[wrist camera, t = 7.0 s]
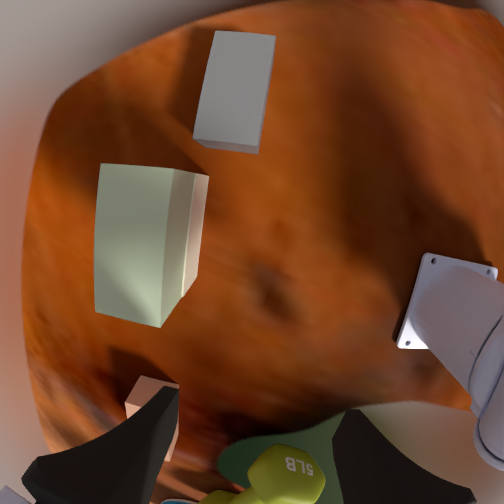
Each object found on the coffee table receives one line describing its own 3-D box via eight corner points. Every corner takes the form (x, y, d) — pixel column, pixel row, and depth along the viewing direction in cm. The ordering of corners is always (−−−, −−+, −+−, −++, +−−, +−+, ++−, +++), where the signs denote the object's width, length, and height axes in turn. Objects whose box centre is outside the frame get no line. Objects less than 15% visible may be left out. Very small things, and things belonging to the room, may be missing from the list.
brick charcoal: (273, 62, 17) (275, 36, 13) (257, 154, 18) (257, 146, 15) (223, 56, 17) (215, 30, 13) (206, 148, 18) (192, 138, 15)
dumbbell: (264, 429, 24) (264, 489, 17) (327, 450, 24) (339, 503, 17) (193, 489, 27) (184, 532, 20) (246, 506, 28) (244, 547, 20)
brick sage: (195, 173, 15) (173, 168, 11) (181, 296, 16) (160, 327, 13) (136, 167, 15) (100, 163, 11) (127, 285, 16) (95, 311, 12)
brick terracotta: (179, 383, 23) (167, 413, 19) (178, 432, 24) (169, 461, 20) (141, 374, 23) (124, 402, 19) (145, 424, 24) (133, 451, 20)
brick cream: (209, 176, 19) (196, 173, 15) (197, 276, 20) (182, 296, 16) (160, 170, 19) (137, 167, 15) (150, 268, 20) (128, 286, 16)
